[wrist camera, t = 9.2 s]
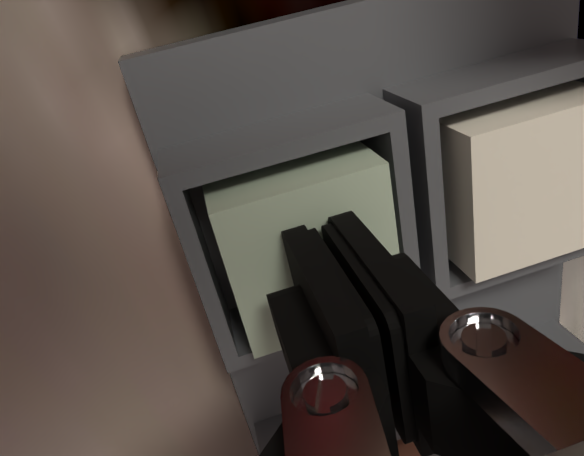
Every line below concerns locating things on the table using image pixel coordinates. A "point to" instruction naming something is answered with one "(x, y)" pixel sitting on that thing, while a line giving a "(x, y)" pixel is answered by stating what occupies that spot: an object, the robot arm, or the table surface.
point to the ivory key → (514, 181)
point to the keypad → (347, 135)
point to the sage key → (292, 221)
